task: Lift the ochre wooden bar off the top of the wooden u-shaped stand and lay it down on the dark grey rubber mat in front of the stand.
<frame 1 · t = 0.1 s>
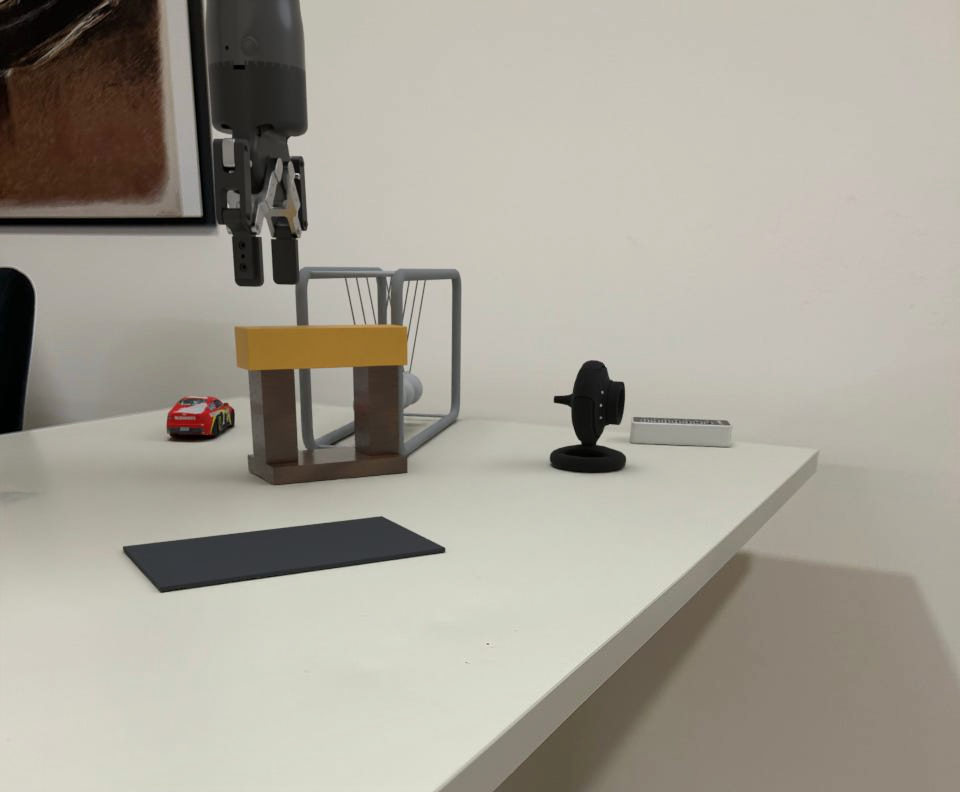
hand: (268, 285, 83), 16 cm above the table, tool pointing down, fingers open, 8 cm apart
multiport hub: (678, 443, 111), on the table
bar: (324, 366, 88), point 9 cm above the table, touching wooden u-shaped stand
webcam: (587, 467, 97), on the table
wooden u-shaped stand: (328, 471, 91), on the table
race car: (203, 433, 111), on the table
newton's cradle: (390, 436, 112), on the table
mat: (285, 551, 66), on the table
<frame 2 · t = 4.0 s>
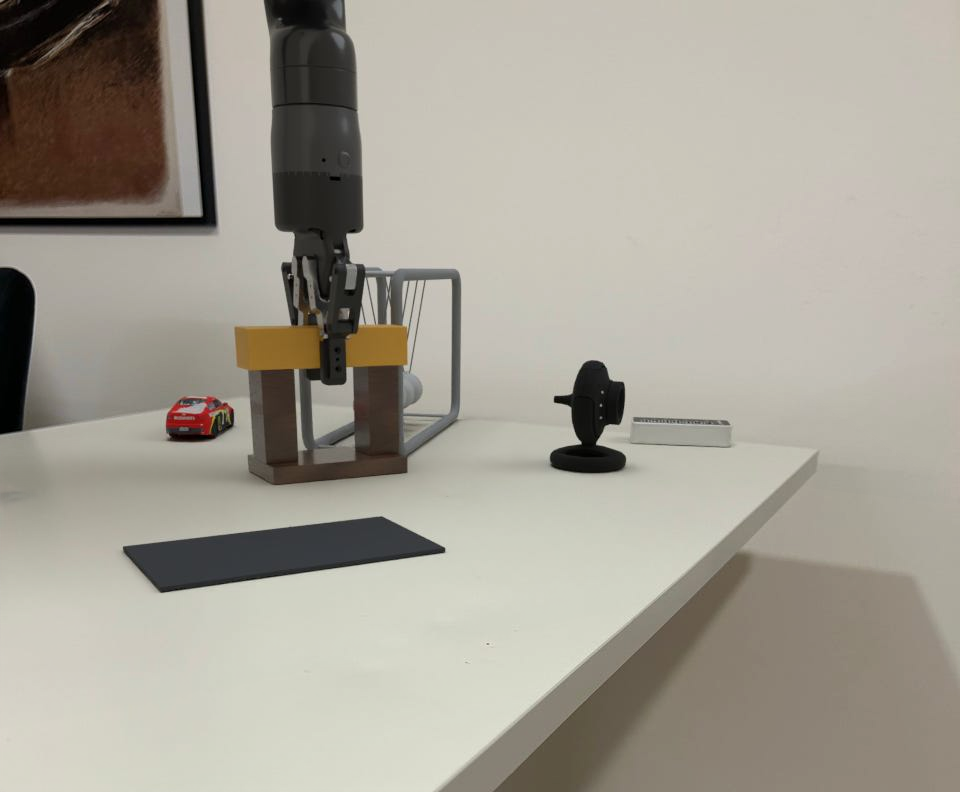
hand: (325, 381, 88), 8 cm above the table, tool pointing down, fingers closed on bar, 3 cm apart
bar: (324, 366, 88), point 9 cm above the table, touching gripper, wooden u-shaped stand
everything else where it was.
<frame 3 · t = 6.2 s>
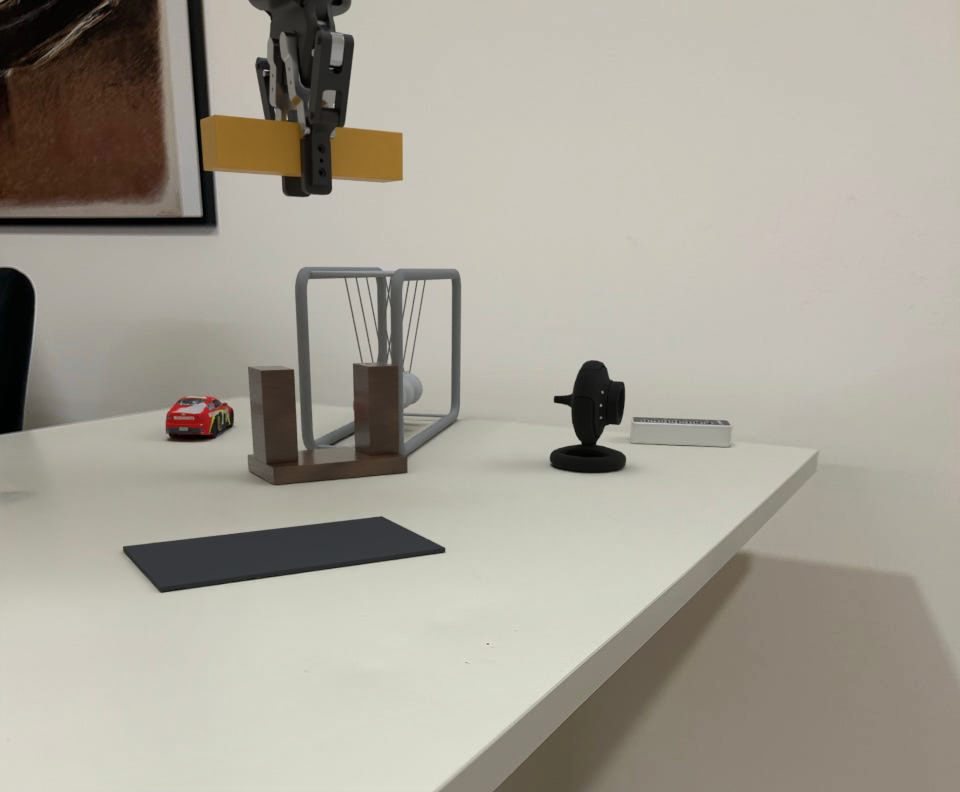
hand: (307, 194, 76), 23 cm above the table, tool pointing down, fingers closed on bar, 3 cm apart
bar: (306, 175, 76), point 24 cm above the table, touching gripper
everything else where it was.
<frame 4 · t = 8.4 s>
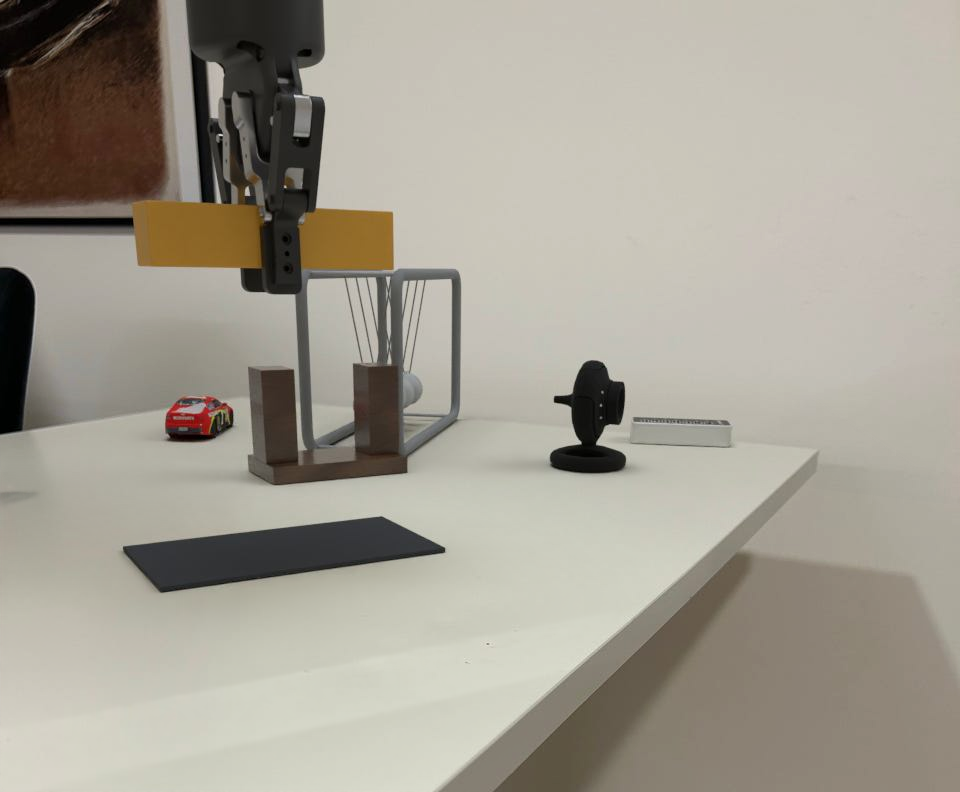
hand: (271, 291, 60), 16 cm above the table, tool pointing down, fingers closed on bar, 3 cm apart
bar: (270, 268, 60), point 18 cm above the table, touching gripper
everything else where it was.
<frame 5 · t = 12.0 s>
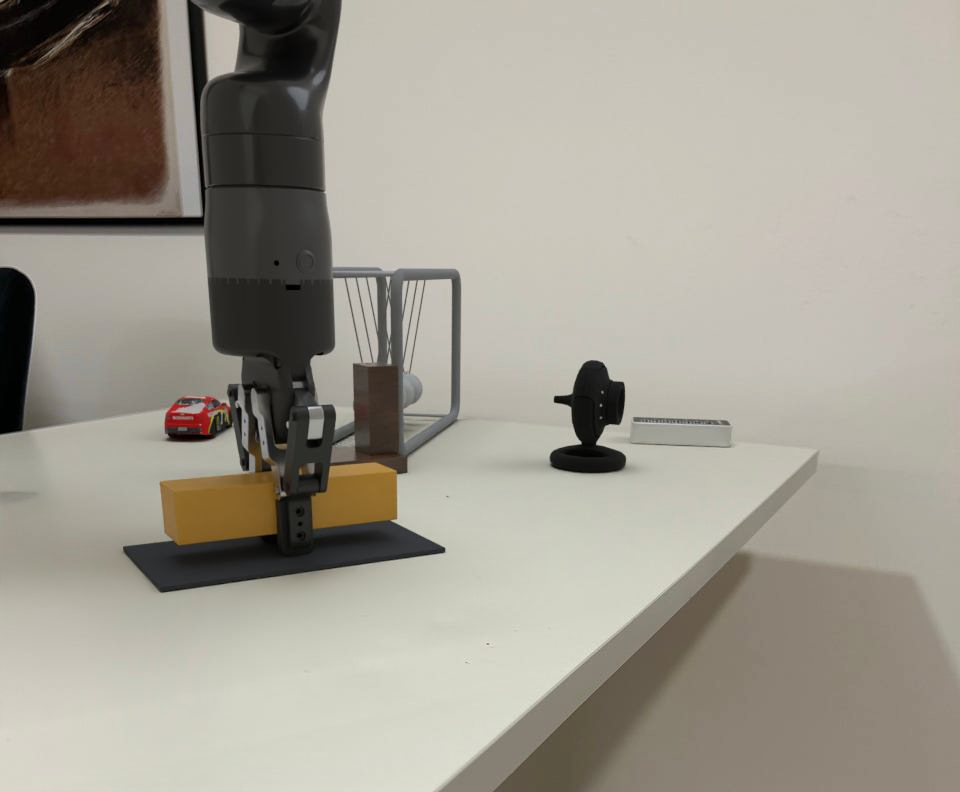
hand: (285, 545, 66), 0 cm above the table, tool pointing down, fingers closed on bar, 3 cm apart
bar: (285, 526, 65), point 2 cm above the table, touching gripper
everything else where it was.
when the fingers open (1 cm above the table, at t = 13.1 s): bar drops 2 cm, resting on mat.
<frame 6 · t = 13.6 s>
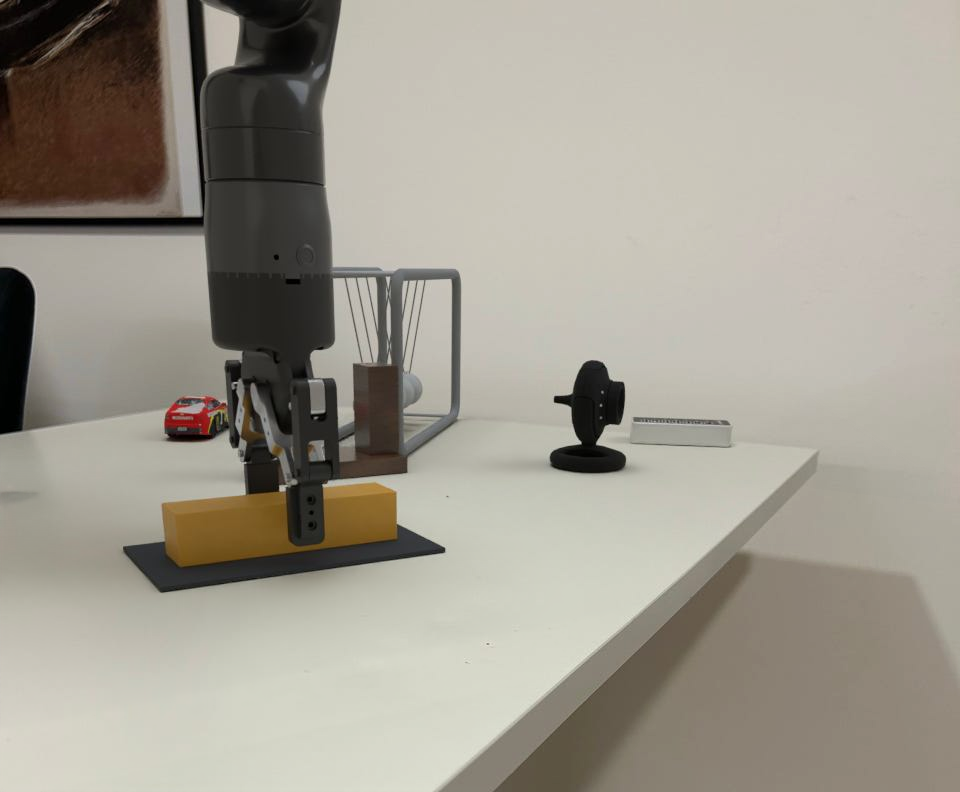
hand: (284, 529, 65), 2 cm above the table, tool pointing down, fingers open, 7 cm apart
bar: (285, 546, 66), resting on mat
everything else where it was.
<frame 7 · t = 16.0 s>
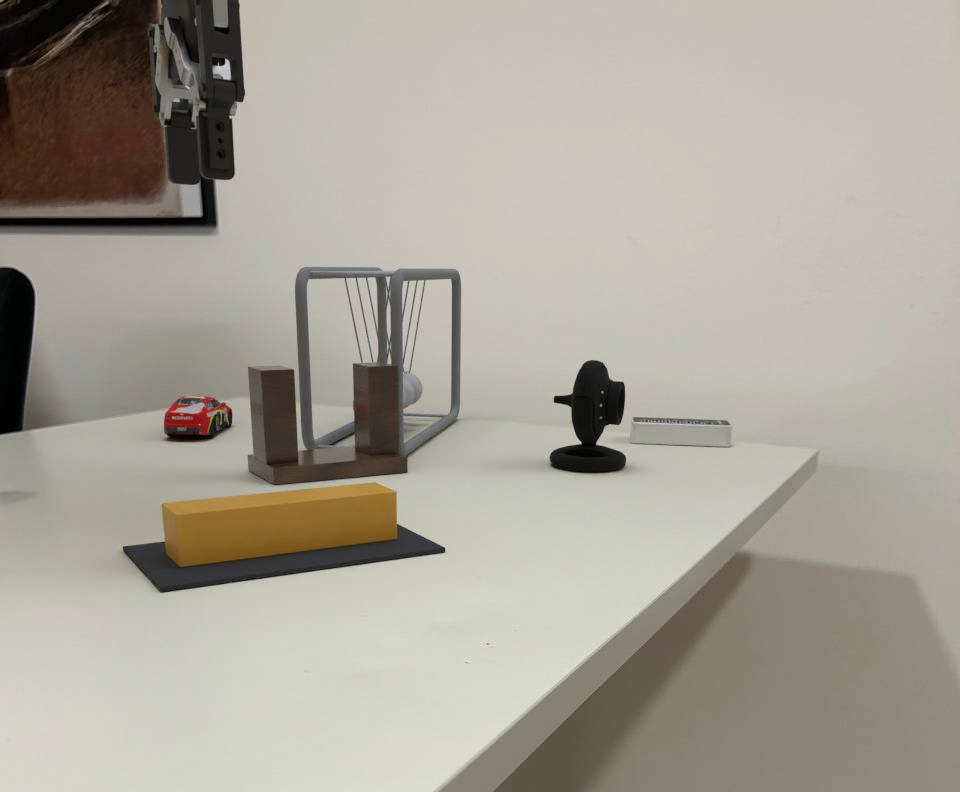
hand: (200, 181, 69), 23 cm above the table, tool pointing down, fingers open, 8 cm apart
nothing on the table moved.
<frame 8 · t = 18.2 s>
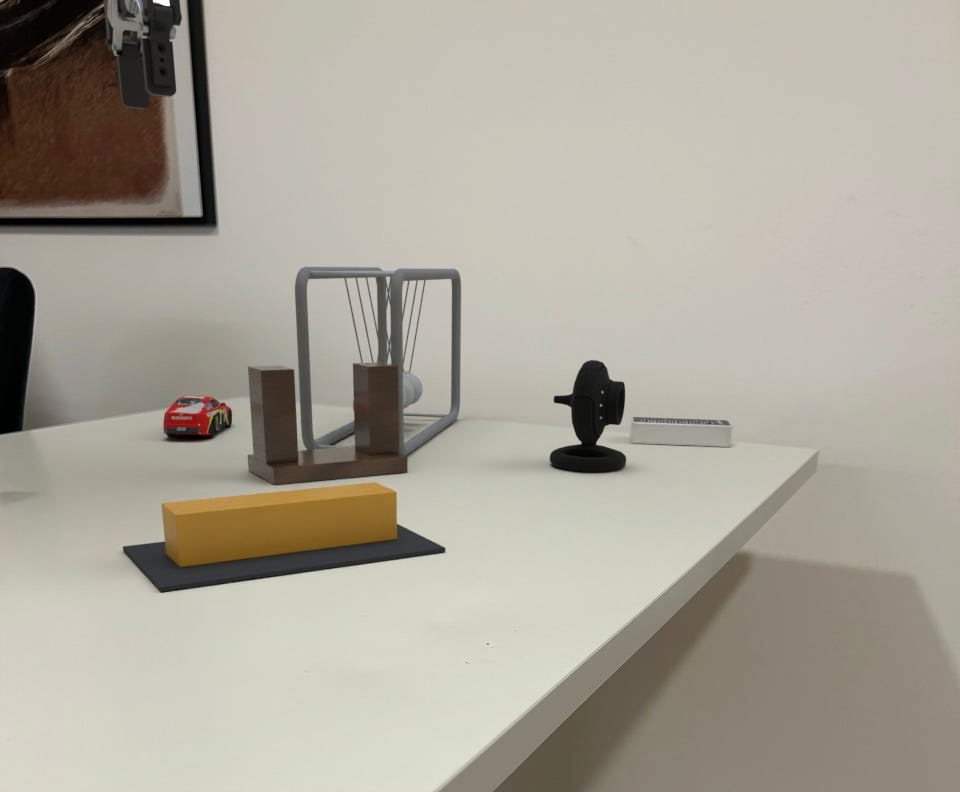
hand: (148, 101, 80), 30 cm above the table, tool pointing down, fingers open, 8 cm apart
nothing on the table moved.
at the end: bar inside the target area on the mat (0.0 cm from its centre), point 0.3 cm above the mat's base; bar tilted 0°; the gripper is holding nothing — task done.
